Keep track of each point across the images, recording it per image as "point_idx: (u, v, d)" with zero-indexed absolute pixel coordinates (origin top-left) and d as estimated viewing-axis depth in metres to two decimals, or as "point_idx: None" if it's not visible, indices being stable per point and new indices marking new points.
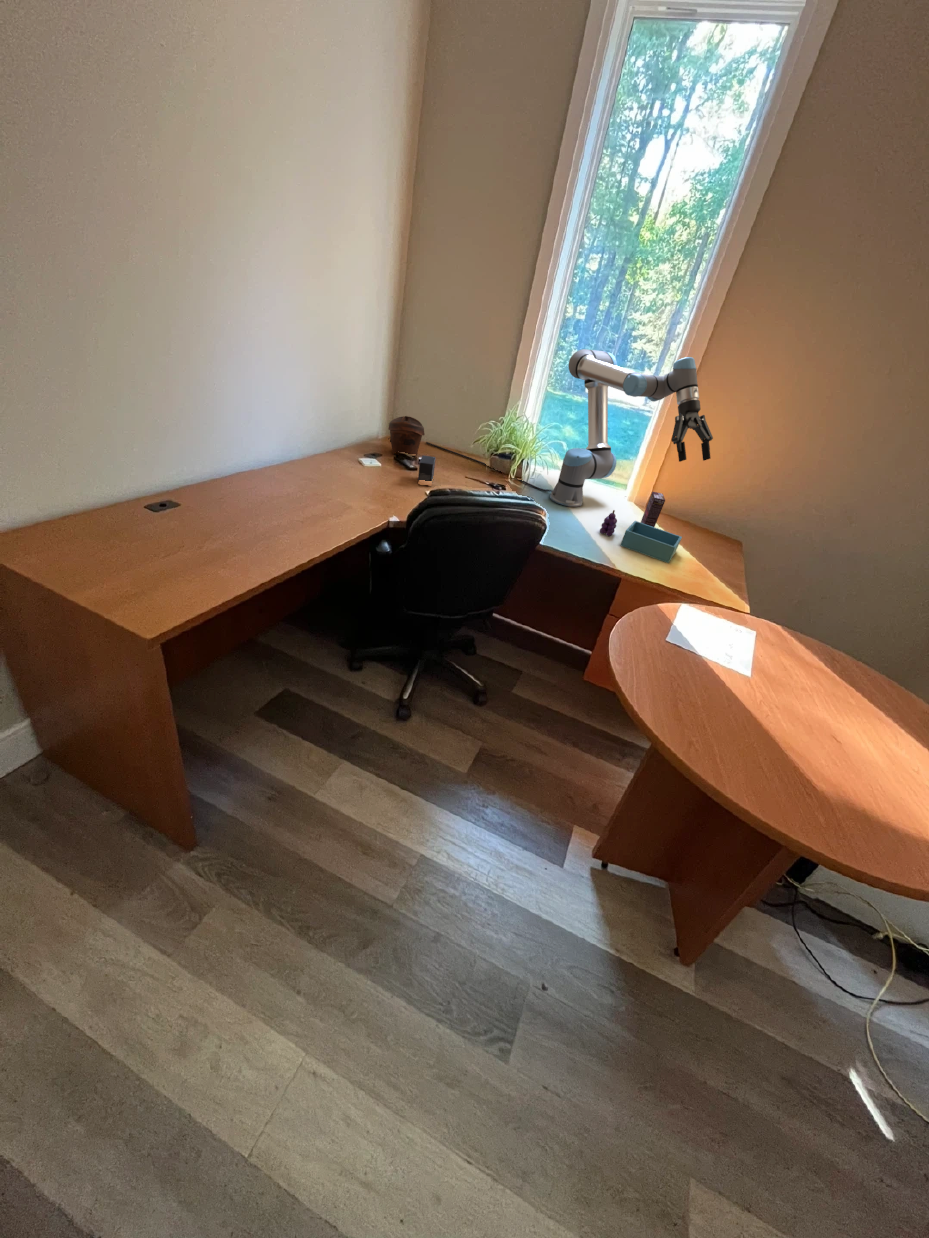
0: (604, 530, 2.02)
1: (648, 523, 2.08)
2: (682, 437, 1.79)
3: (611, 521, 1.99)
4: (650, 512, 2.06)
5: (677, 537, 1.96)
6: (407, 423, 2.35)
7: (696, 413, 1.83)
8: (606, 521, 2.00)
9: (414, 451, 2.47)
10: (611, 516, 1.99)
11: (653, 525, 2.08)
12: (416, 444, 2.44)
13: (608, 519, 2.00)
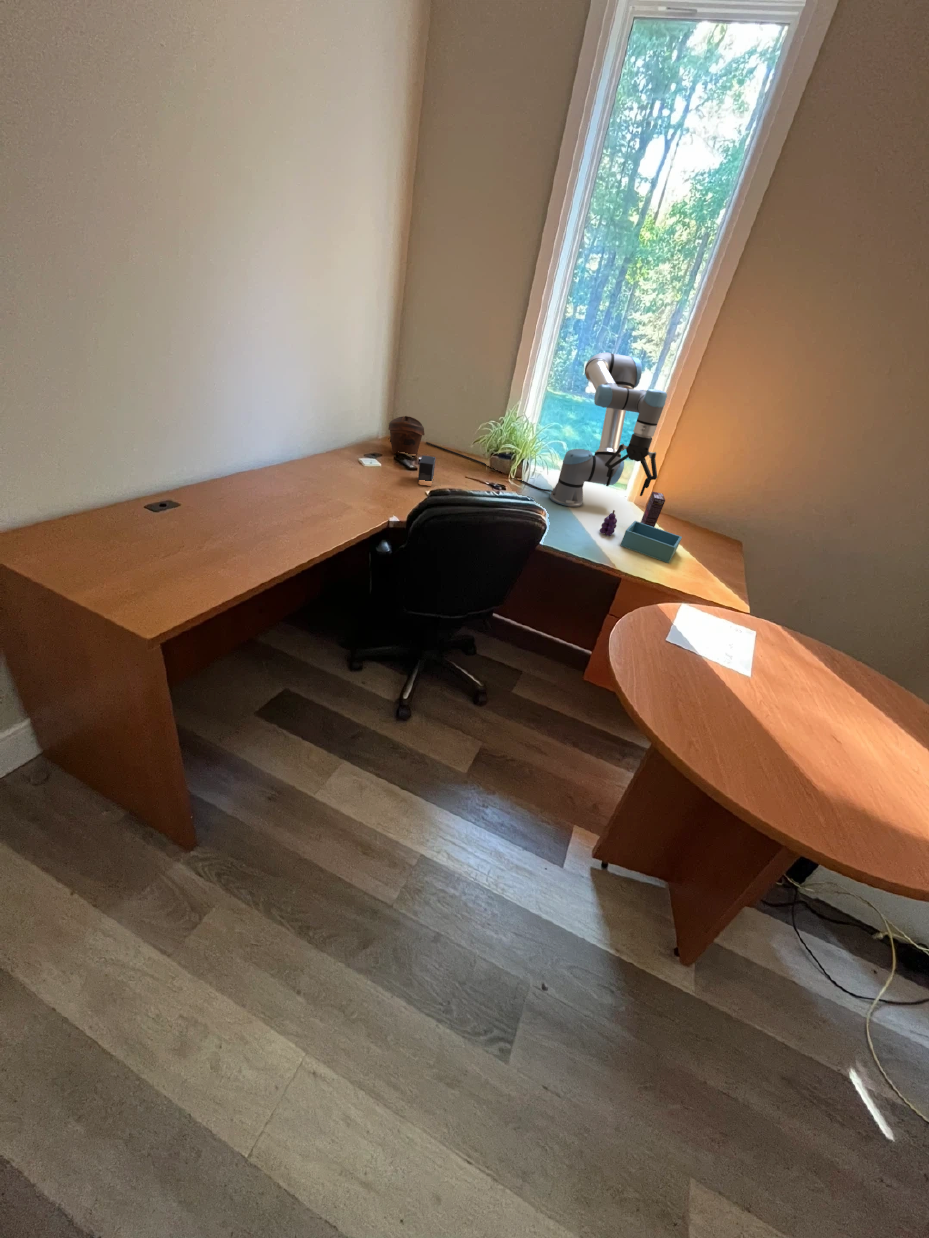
0: (604, 530, 2.02)
1: (648, 523, 2.08)
2: (612, 465, 1.91)
3: (611, 521, 1.99)
4: (650, 512, 2.06)
5: (677, 537, 1.96)
6: (407, 423, 2.35)
7: (644, 449, 1.83)
8: (606, 521, 2.00)
9: (414, 451, 2.47)
10: (611, 516, 1.99)
11: (653, 525, 2.08)
12: (416, 444, 2.44)
13: (608, 519, 2.00)
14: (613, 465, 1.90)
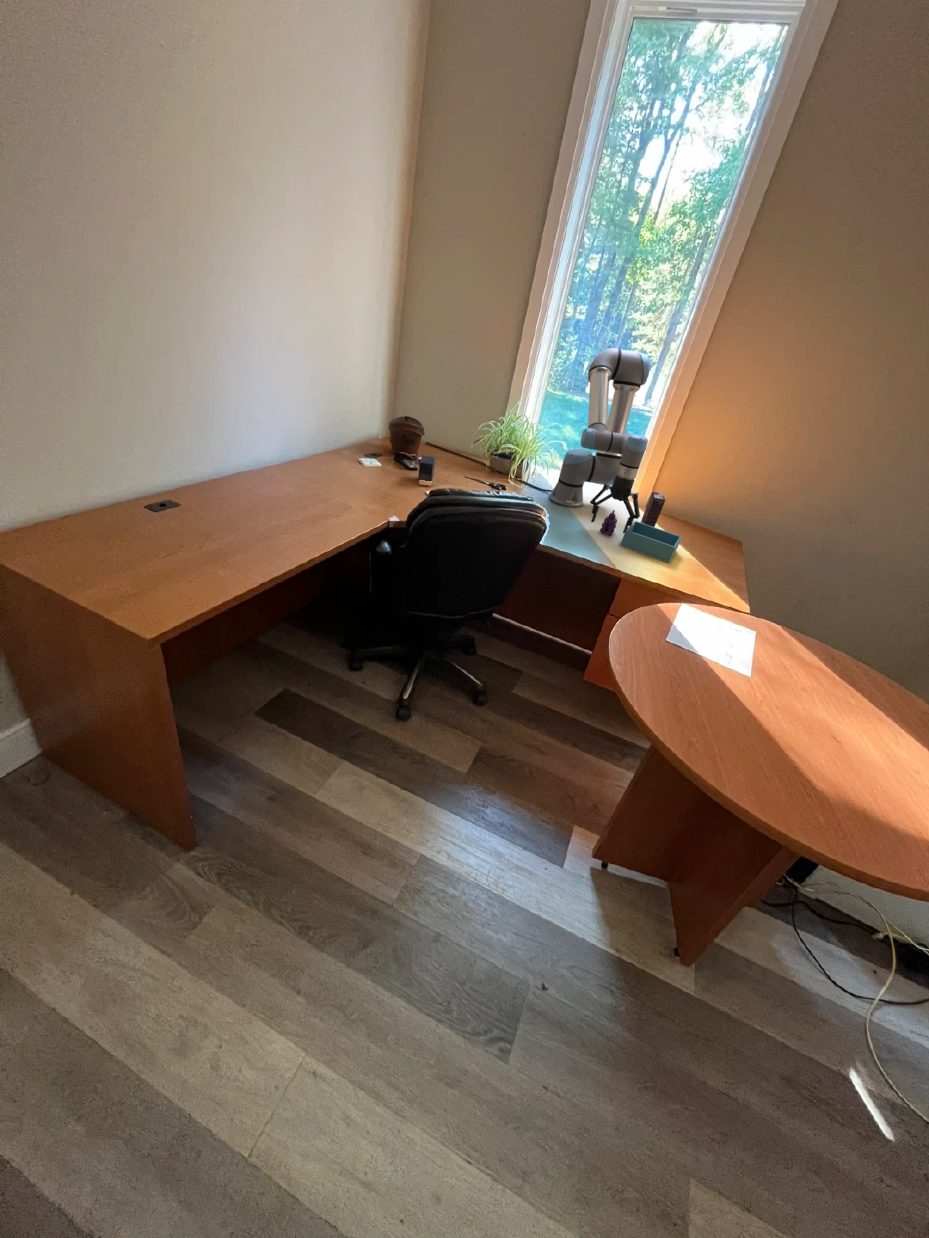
0: (604, 530, 2.02)
1: (648, 523, 2.08)
2: (597, 503, 2.00)
3: (611, 521, 1.99)
4: (650, 512, 2.06)
5: (677, 537, 1.96)
6: (407, 423, 2.35)
7: (626, 490, 1.91)
8: (606, 521, 2.00)
9: (414, 451, 2.47)
10: (611, 516, 1.99)
11: (653, 525, 2.08)
12: (416, 444, 2.44)
13: (608, 519, 2.00)
14: (598, 503, 1.99)
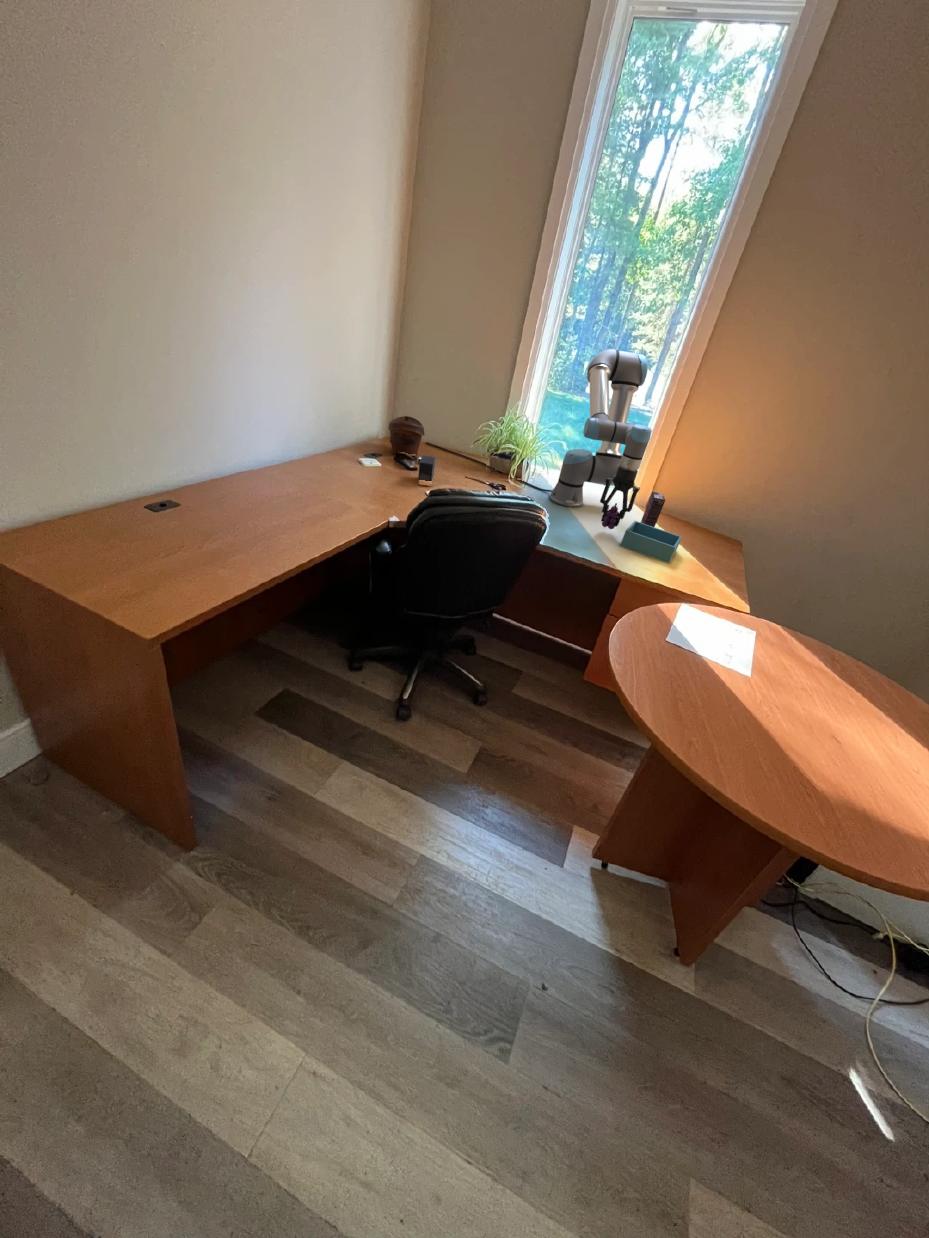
0: (606, 523, 2.01)
1: (648, 523, 2.08)
2: (606, 501, 1.98)
3: (613, 514, 1.98)
4: (650, 512, 2.06)
5: (677, 537, 1.96)
6: (407, 423, 2.35)
7: (629, 481, 1.90)
8: (608, 514, 1.99)
9: (414, 451, 2.47)
10: (613, 509, 1.98)
11: (653, 525, 2.08)
12: (416, 444, 2.44)
13: (610, 512, 1.98)
14: (607, 501, 1.98)
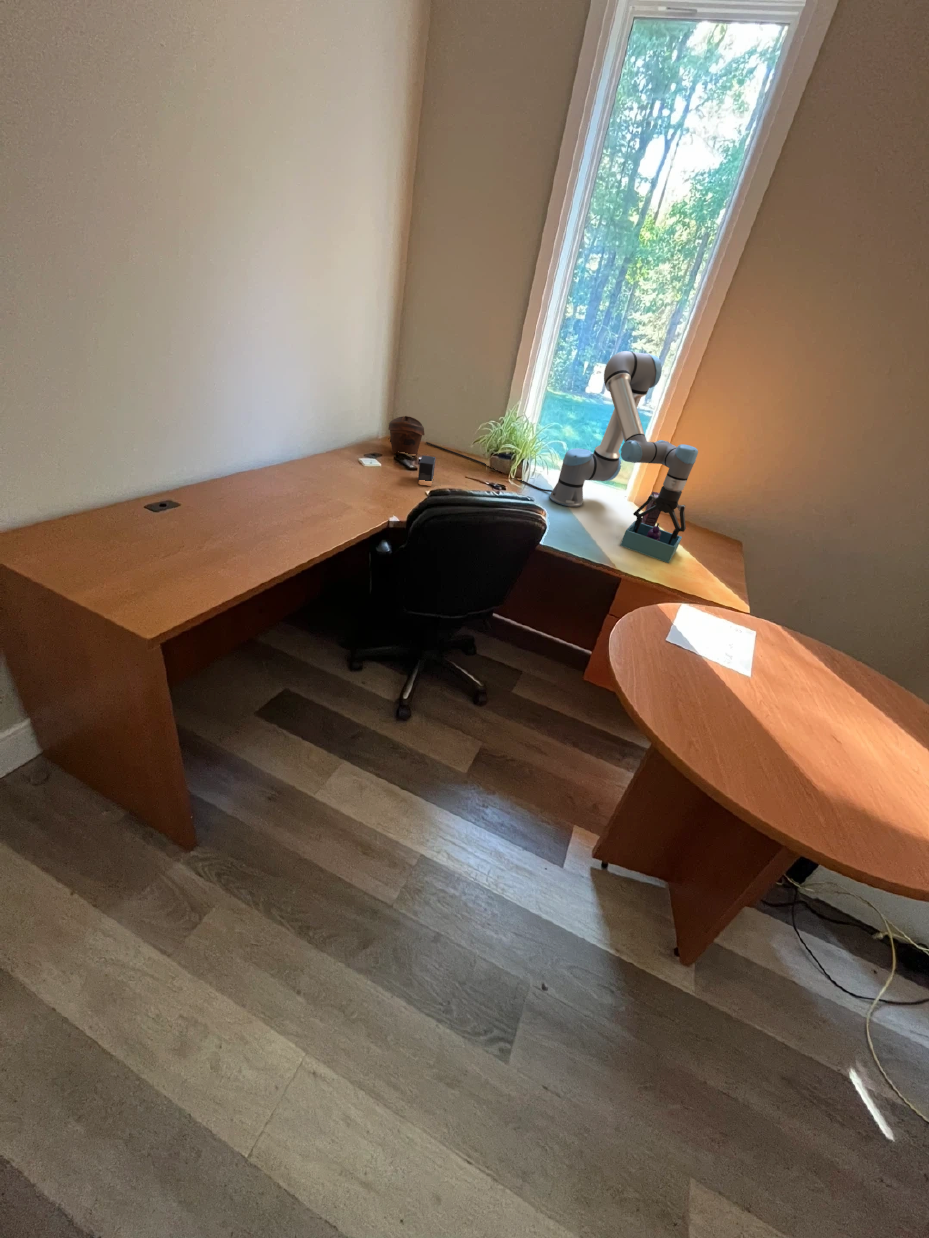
0: None
1: (648, 523, 2.08)
2: (641, 515, 1.93)
3: (655, 534, 1.92)
4: (650, 512, 2.06)
5: (677, 537, 1.96)
6: (407, 423, 2.35)
7: (673, 501, 1.84)
8: (650, 534, 1.93)
9: (414, 451, 2.47)
10: (655, 529, 1.92)
11: (653, 525, 2.08)
12: (416, 444, 2.44)
13: (652, 532, 1.93)
14: (641, 515, 1.93)
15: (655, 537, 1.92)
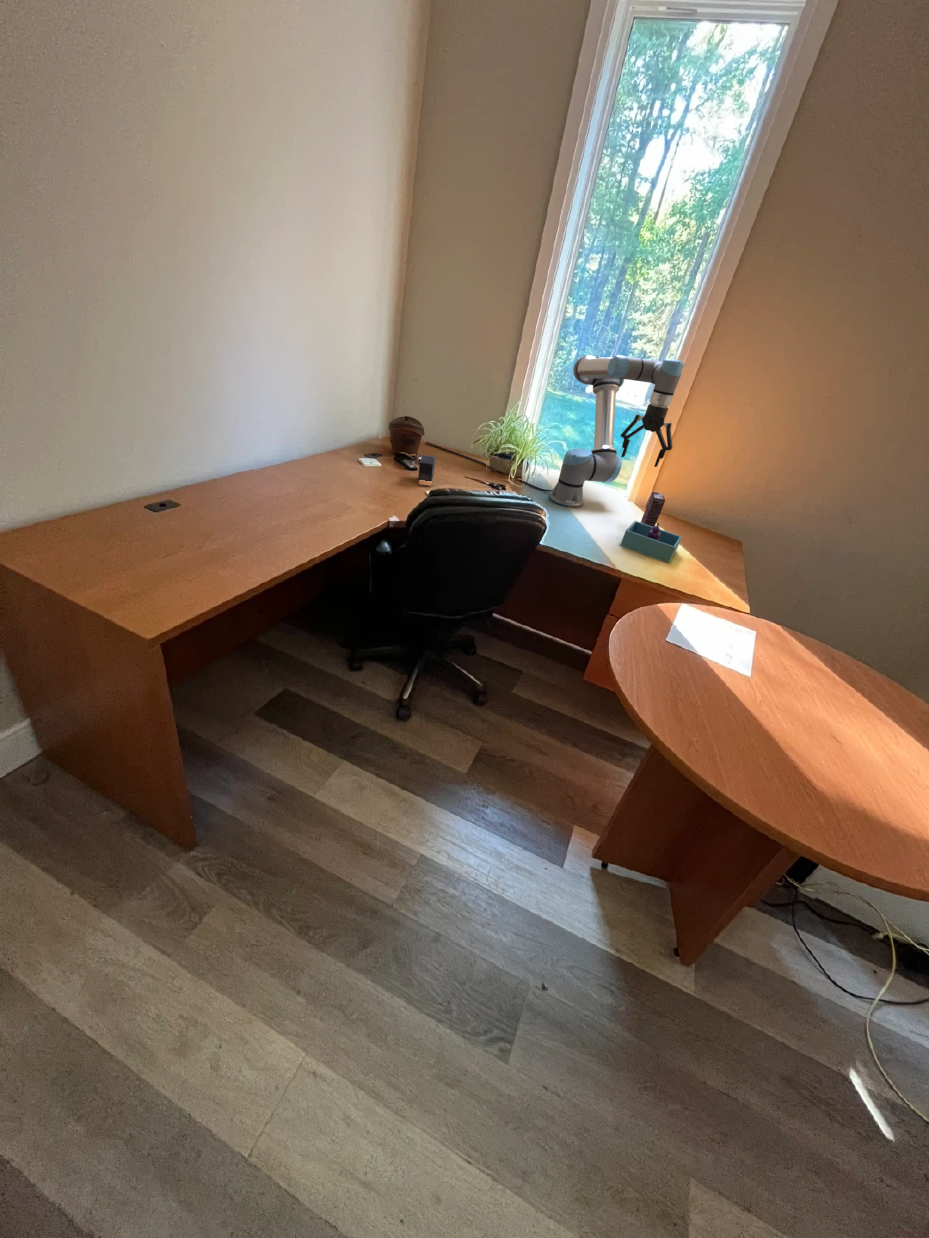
0: None
1: (648, 523, 2.08)
2: (628, 436, 1.93)
3: (655, 534, 1.92)
4: (650, 512, 2.06)
5: (677, 537, 1.96)
6: (407, 423, 2.35)
7: (659, 419, 1.85)
8: (650, 534, 1.93)
9: (414, 451, 2.47)
10: (655, 529, 1.92)
11: (653, 525, 2.08)
12: (416, 444, 2.44)
13: (652, 532, 1.93)
14: (629, 436, 1.93)
15: (655, 537, 1.92)
